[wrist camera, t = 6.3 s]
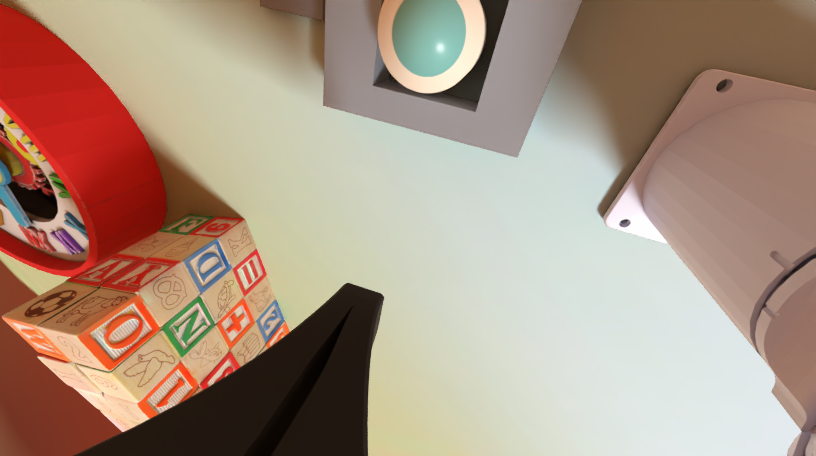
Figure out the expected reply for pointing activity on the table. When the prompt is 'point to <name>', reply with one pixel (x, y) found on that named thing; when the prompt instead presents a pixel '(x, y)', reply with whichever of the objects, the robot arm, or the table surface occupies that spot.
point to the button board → (436, 112)
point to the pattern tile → (298, 7)
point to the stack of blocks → (157, 319)
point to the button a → (431, 41)
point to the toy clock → (67, 157)
